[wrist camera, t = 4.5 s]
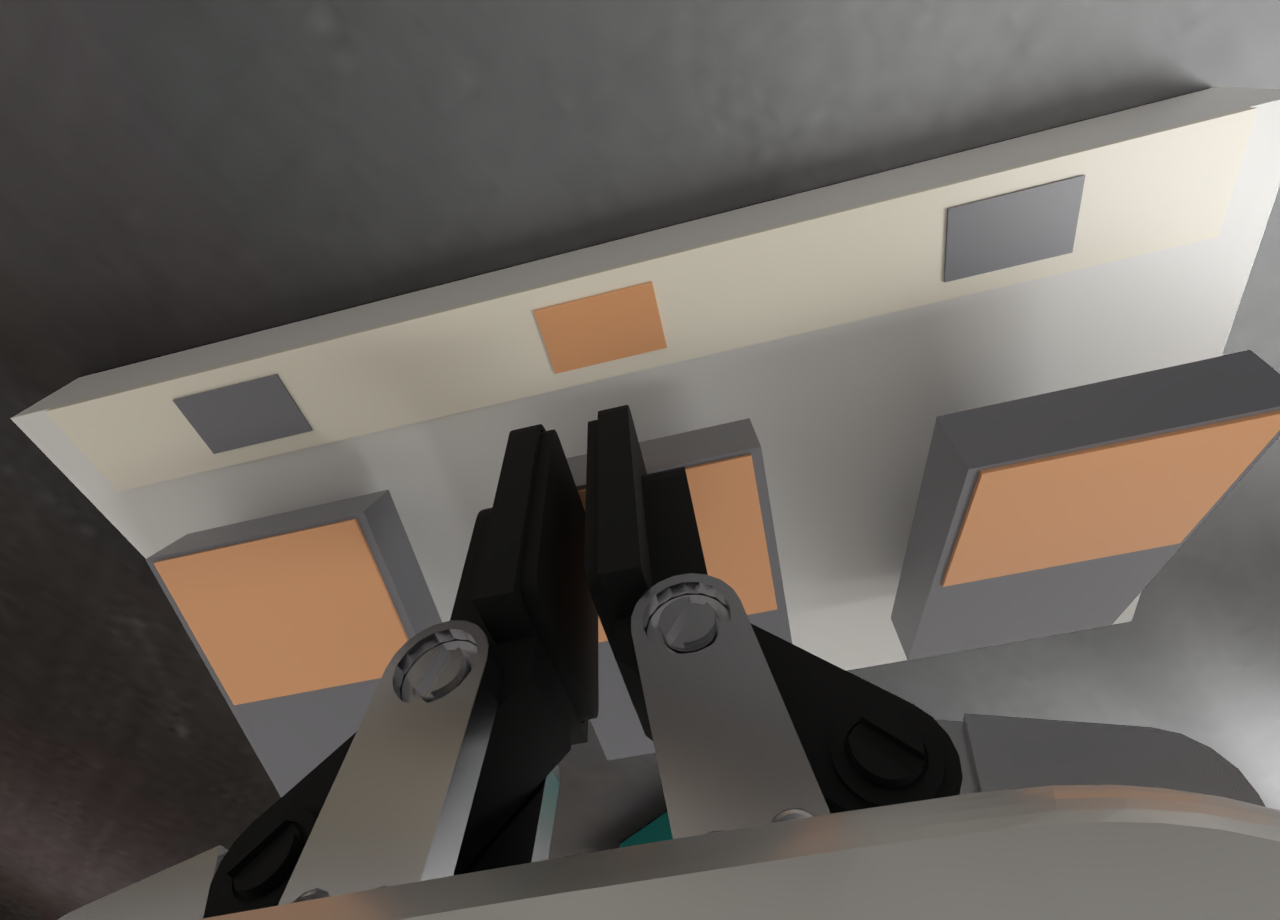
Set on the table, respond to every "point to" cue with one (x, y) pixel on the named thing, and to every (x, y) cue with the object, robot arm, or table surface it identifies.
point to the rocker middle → (731, 545)
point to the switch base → (721, 352)
